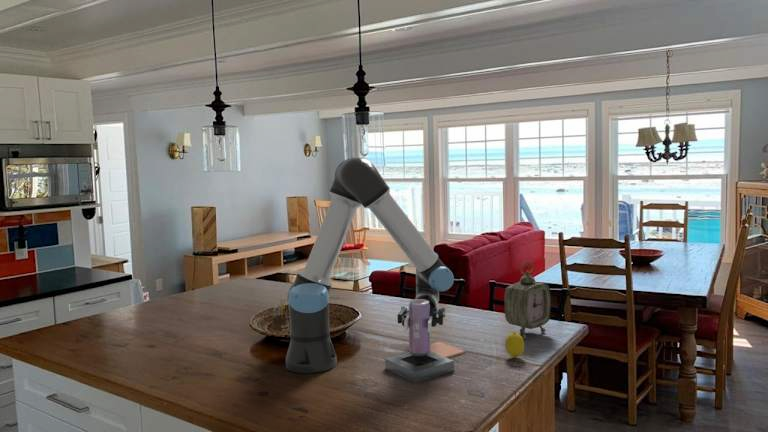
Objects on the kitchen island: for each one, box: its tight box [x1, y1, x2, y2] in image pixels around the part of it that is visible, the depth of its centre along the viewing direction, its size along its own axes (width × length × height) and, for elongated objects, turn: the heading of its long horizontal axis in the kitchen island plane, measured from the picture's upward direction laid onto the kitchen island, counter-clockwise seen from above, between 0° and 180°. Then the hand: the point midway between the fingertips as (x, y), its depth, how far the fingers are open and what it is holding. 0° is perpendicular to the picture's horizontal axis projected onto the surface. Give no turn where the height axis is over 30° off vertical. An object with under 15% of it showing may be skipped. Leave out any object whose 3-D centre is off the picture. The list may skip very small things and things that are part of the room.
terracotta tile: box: [430, 341, 466, 359], centre depth 174 cm, size 12×12×1 cm
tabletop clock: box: [504, 261, 552, 340], centre depth 188 cm, size 14×9×25 cm, turn 129°
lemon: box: [504, 331, 525, 359], centre depth 166 cm, size 6×6×8 cm
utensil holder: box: [271, 299, 290, 331], centre depth 196 cm, size 6×6×12 cm
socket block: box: [384, 351, 455, 384], centre depth 159 cm, size 14×14×3 cm
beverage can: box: [408, 298, 431, 356], centre depth 158 cm, size 6×6×15 cm
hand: (417, 327), depth 153 cm, fingers closed on beverage can, 6 cm apart
